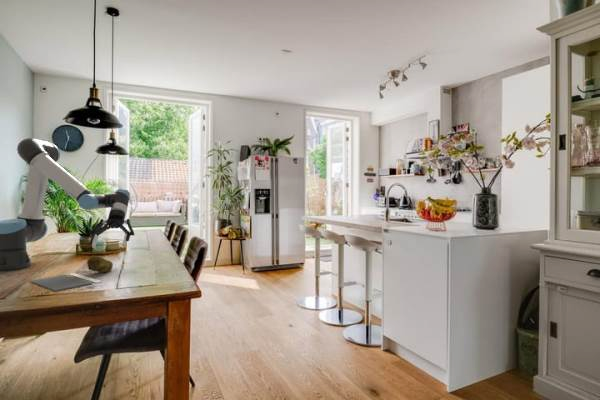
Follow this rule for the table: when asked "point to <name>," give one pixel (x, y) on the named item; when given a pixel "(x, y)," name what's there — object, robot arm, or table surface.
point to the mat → (60, 282)
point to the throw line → (85, 278)
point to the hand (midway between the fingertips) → (108, 246)
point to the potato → (99, 264)
